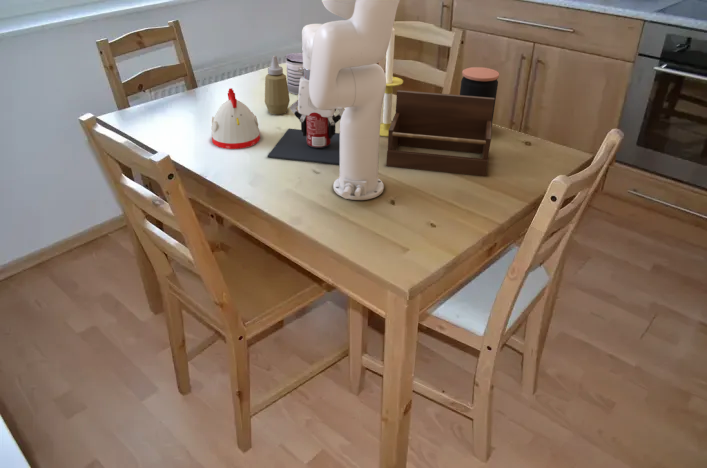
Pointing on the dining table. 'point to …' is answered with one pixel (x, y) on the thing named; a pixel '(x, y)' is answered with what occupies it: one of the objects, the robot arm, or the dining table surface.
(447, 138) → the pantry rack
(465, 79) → the coffee jar
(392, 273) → the dining table surface
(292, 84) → the can
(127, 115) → the dining table surface
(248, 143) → the kitchen timer
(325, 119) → the soda can
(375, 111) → the robot arm
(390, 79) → the candle
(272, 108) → the squeeze bottle
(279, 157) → the mat
